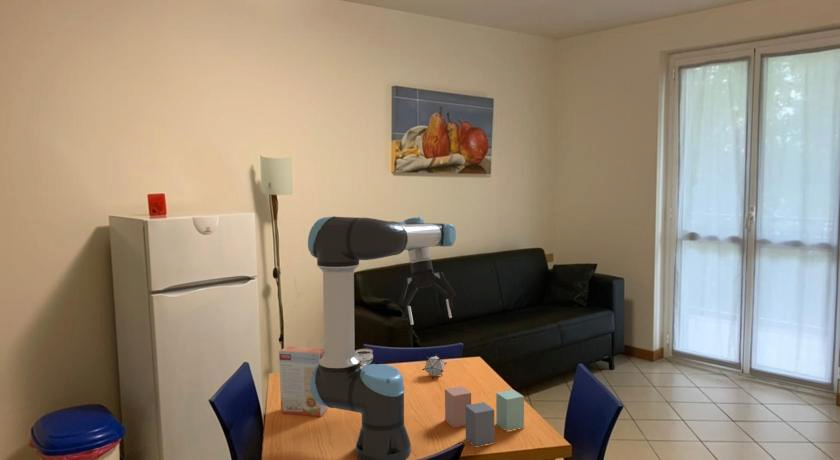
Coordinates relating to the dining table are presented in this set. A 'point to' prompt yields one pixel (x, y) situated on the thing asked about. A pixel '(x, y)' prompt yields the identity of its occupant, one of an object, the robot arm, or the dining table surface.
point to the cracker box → (299, 380)
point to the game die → (434, 366)
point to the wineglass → (364, 356)
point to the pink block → (456, 406)
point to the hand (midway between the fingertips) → (431, 321)
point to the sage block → (510, 410)
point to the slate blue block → (479, 424)
